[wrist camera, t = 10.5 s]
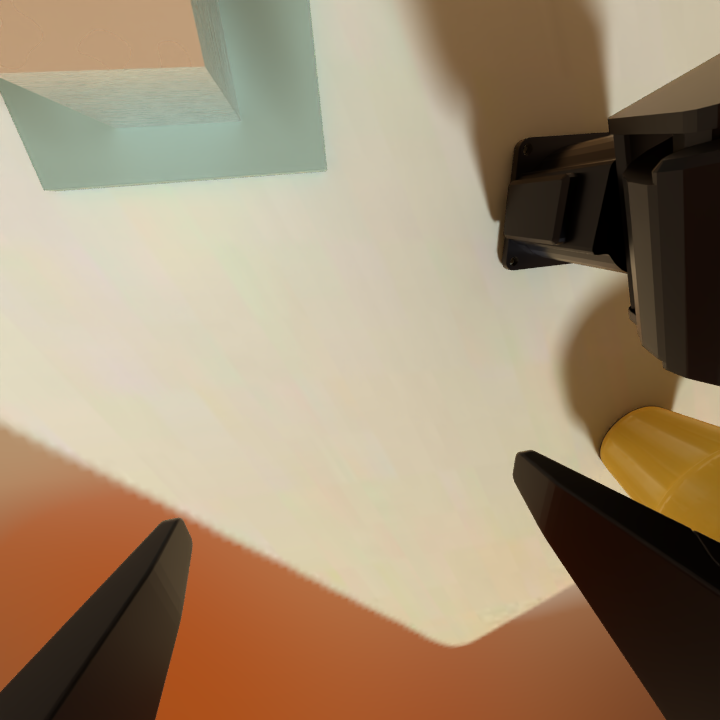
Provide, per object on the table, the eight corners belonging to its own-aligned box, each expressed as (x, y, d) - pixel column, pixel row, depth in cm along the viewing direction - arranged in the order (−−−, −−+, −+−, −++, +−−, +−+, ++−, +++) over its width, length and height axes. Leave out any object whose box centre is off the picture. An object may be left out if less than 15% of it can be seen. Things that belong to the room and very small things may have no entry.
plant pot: (599, 389, 25) (761, 487, 16) (709, 379, 27) (910, 463, 18) (563, 489, 29) (676, 607, 21) (660, 475, 31) (801, 579, 22)
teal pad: (295, -110, 12) (295, -131, 11) (325, 171, 16) (327, 169, 15) (-78, -122, 11) (-106, -146, 10) (56, 191, 14) (43, 189, 14)
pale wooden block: (208, -48, 12) (132, -264, 6) (241, 121, 14) (205, 66, 8) (55, -49, 11) (-171, -290, 6) (115, 128, 13) (-10, 73, 8)
